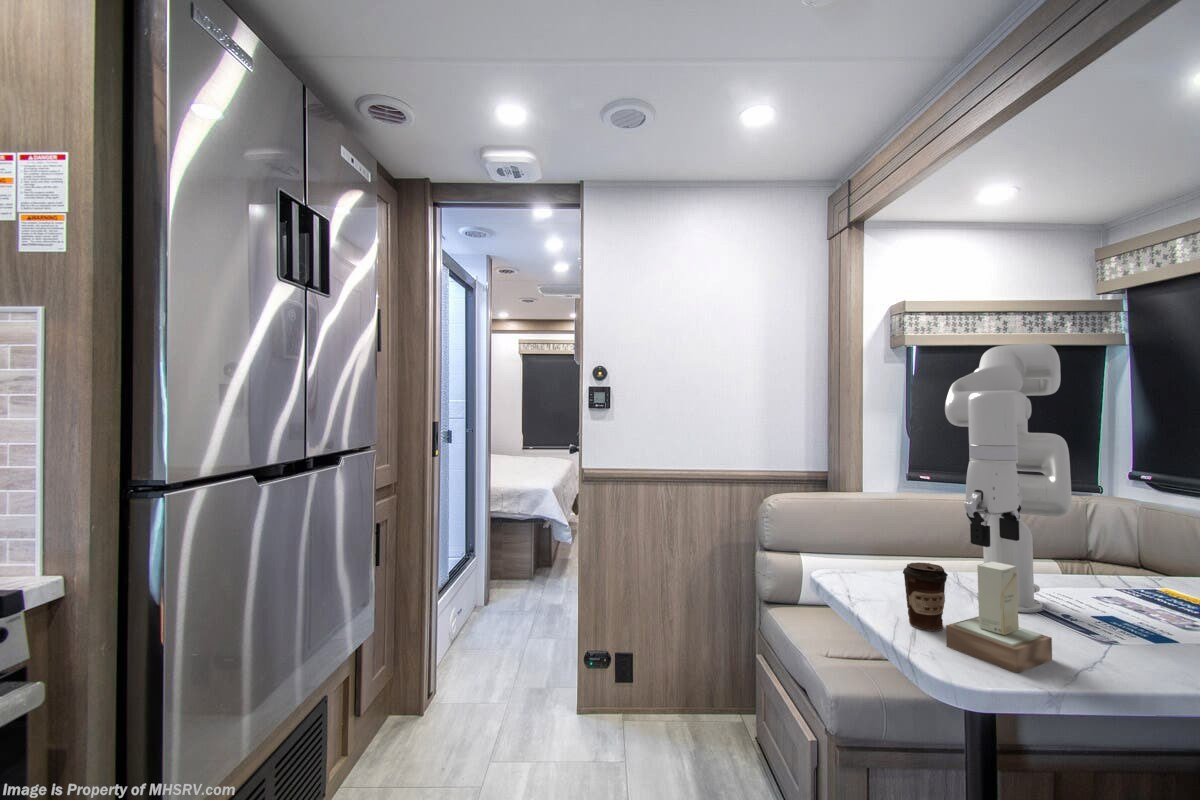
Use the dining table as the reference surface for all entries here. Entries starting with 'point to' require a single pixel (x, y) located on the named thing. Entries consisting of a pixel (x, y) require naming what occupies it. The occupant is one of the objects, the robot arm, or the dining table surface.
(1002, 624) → the skincare box
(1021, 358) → the robot arm
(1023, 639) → the walnut plinth
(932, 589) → the coffee cup
